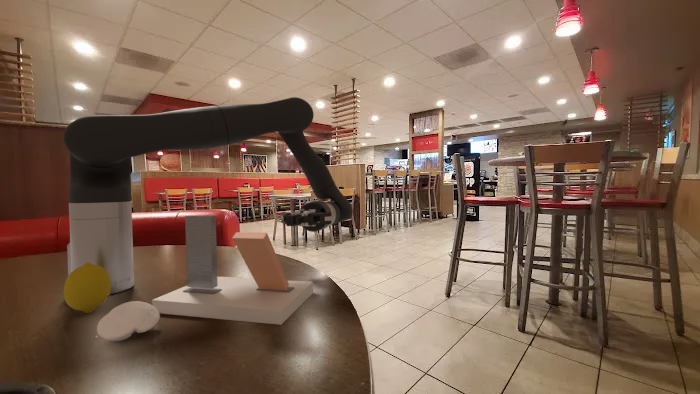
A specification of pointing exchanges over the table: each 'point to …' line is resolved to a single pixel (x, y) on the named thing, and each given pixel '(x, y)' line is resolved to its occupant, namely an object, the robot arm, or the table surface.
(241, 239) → the terracotta paddle
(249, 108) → the robot arm
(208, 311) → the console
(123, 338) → the dumpling
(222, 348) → the table surface
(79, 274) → the lemon
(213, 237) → the grey paddle
